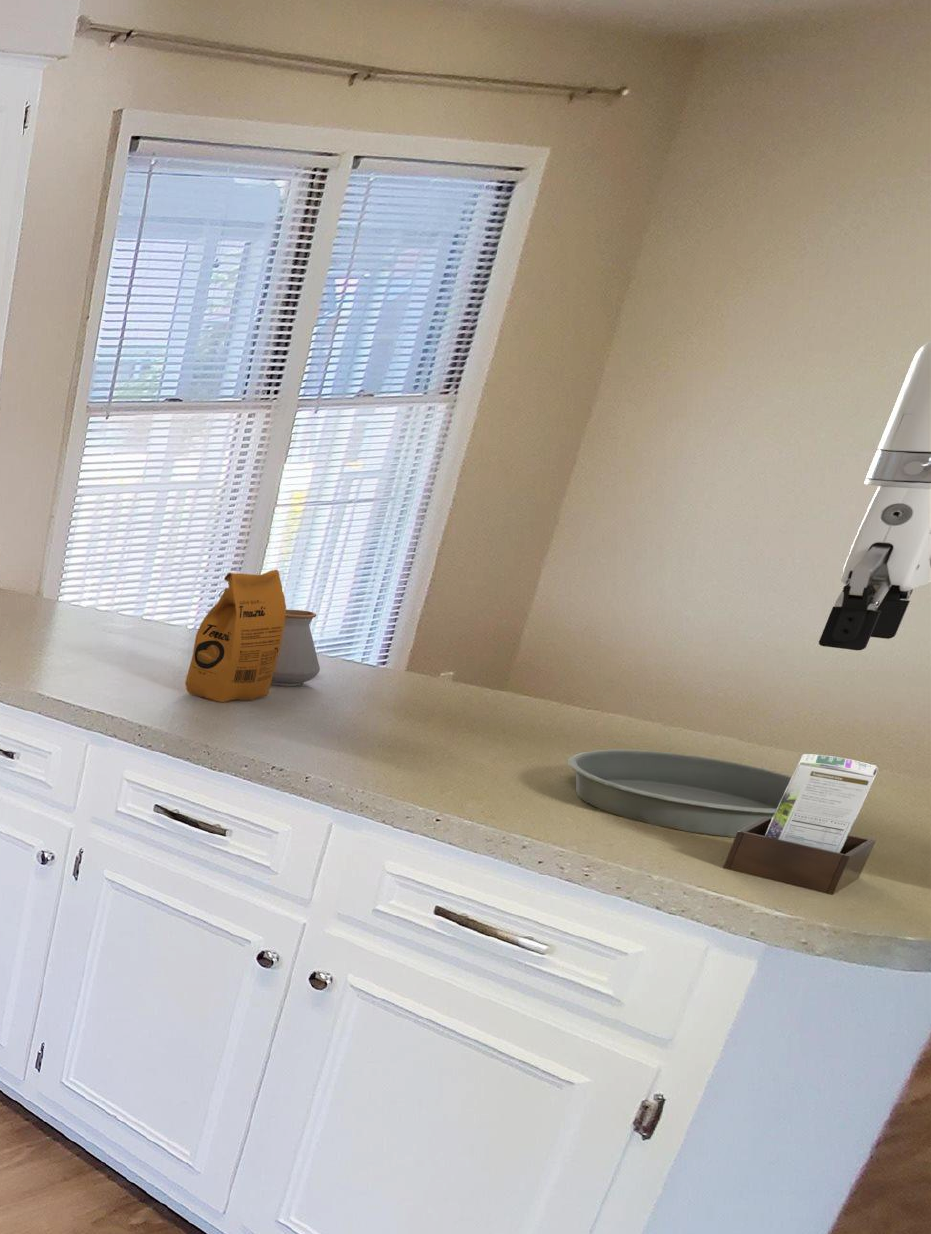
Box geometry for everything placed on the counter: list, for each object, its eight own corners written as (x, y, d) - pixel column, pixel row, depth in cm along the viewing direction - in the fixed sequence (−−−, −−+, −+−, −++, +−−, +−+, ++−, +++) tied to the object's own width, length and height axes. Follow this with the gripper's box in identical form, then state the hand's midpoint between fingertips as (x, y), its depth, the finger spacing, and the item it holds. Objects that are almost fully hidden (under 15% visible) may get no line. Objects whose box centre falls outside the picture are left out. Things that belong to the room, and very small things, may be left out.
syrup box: (749, 870, 135) (799, 751, 129) (825, 886, 130) (879, 763, 125) (744, 884, 131) (795, 761, 126) (822, 900, 127) (877, 774, 122)
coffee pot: (331, 685, 214) (352, 604, 208) (283, 691, 211) (303, 608, 205) (229, 660, 233) (246, 585, 228) (184, 665, 230) (200, 589, 225)
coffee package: (173, 690, 213) (199, 569, 205) (231, 685, 215) (258, 565, 207) (218, 704, 203) (246, 577, 196) (277, 699, 206) (307, 574, 198)
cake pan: (536, 769, 169) (546, 740, 167) (771, 794, 157) (784, 762, 156) (589, 825, 148) (601, 791, 147) (863, 857, 137) (879, 822, 136)
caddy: (853, 890, 129) (876, 840, 127) (827, 907, 125) (849, 856, 123) (745, 864, 136) (765, 816, 134) (717, 880, 132) (737, 831, 130)
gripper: (961, 478, 108) (884, 659, 114) (1009, 468, 116) (934, 638, 122) (843, 473, 114) (776, 646, 120) (896, 464, 122) (830, 626, 128)
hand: (856, 642), depth 121 cm, fingers open, 9 cm apart
